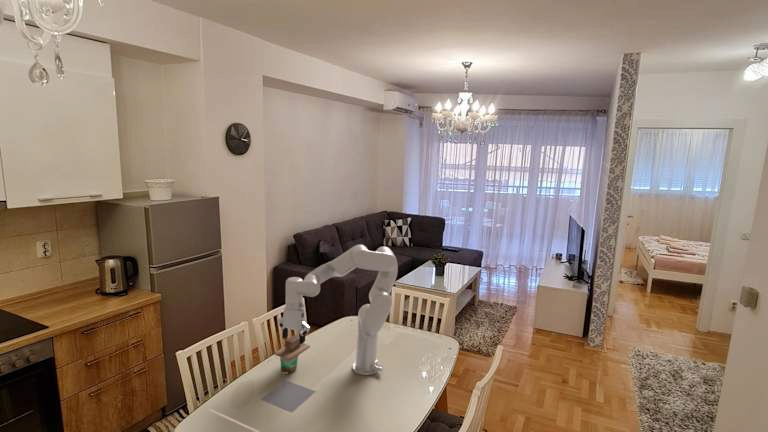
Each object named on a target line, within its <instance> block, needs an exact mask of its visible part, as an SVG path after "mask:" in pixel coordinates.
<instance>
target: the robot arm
mask: <svg viewBox="0 0 768 432" xmlns="http://www.w3.org/2000/svg"><path fill="white" fill-rule="evenodd" d="M356 268H358V269H361V270H362V269H363V270H368V271H376V272H378V273H377V276H376V278H375V281H374V283H373V284H372V286H371V289H370V291H369V293H368V299H369V302H370V303H366V304H363V305H362V306H361V307H360V308H359V310H358V313H357V314H358V315H357V338H356V354H355V355H356V356H355V361H354V362H353V363H352V370H353V372H354V373H356V374H357V375H361V376H372V375H375V374H376V373H378V371H379V372H383V371H384V368H383V364H381V363H380V364H379V360H378V359H377V351H378V339H379V332H380V331H381V329H382V328H383V326H384V324H385V322H386V320H387V317H388V315H389V314H390V311H391V309H392V306H393V299H392V296H391V292H392V289H393V287H394V285H395V282H396V280H397V277H398V271H399V270H398V269H399V266H398V261H397V257H396V256H395V254H394V252H393V251H392V250H391V248H390V247H387V246H386V245H385V246H380V247H378V248H377V249H376V250H375V251H373V250H369V249H368V247H367V246H366V245H364V244H361V243H360V244H356V245H354V246H352V247H350V248H349V249H348V250H347V251H345V252H343V253H342V254H340V255H339V256H338V257H336V258H334V259H332V260H331V261H328V262H326V263H323V264H320V266H318V267H316V268H314V269H313V270H312V271H310V272H308V273H307V274H306V275H305V277H304V278H303V279H302V278H301V277H298V276H292V277H291V276H290V277H288V278H287V279H286V280H285V306H284V308H283V314H282V317H280V318H278V319H277V322H278V324H279V327H280V330H281V331H282V333H281V335H282V337H281V338H282V339H283V340H284V339H287V337H288V336H289V330H293V331H296V332H298V333H299V335H300V336H299V337H300V344H302V343H304V344H305V342H306V335H307V334H308V333H309V331H310V330H311V326H309V324H307V319H306V310H305V304H303V303H304V301H303V298H304V297H303V296H305V297H311V298H314V297H316V296H317V295H319V294H320V291H321V284H322V283H323V284H324V282H326V281H328V280H329V279H331V278H335V277H338V278H339V277H341V278H342V277H344V276H346V275H347V274H349V273H351V272H352V271H353V270H354V269H356ZM288 338H289V337H288Z"/></svg>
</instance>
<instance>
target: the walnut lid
mask: <svg viewBox="0 0 768 432" xmlns="http://www.w3.org/2000/svg"><path fill="white" fill-rule="evenodd" d="M310 348H311V345H310V344H307V343H305V342H304V343H302V344H300V336H297V335H295V334H293V335H292V336H290V337H288V338H285V341H284V346H283V347H282V348H280V349H278V350H277V351H275V352H274V356H277V357H279V358H280V357H282V358H285V359H288V360H290V361H291V360H292V359H294V358H295V357H296V356H298V355H299V356H300V355H302V353H304V352H306V351H307V350H308V349H310ZM299 356H298V357H299Z"/></svg>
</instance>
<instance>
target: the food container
mask: <svg viewBox="0 0 768 432" xmlns="http://www.w3.org/2000/svg"><path fill="white" fill-rule="evenodd" d="M299 356H300V354H299V355H298V356H296V357H295V358H294V359H292V360H291V361H290V360H288V359H285V358H282V357H279V361H280V374H281V375H290V374H293V373H294V372H296V371H297V367H298V360H299V359H298V358H299Z"/></svg>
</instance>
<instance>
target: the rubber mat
mask: <svg viewBox="0 0 768 432" xmlns="http://www.w3.org/2000/svg"><path fill="white" fill-rule="evenodd" d="M315 393H317V392H316V390H313V389H311V388H309V387H308V388H307V387H305V386H303V385H301V384H299V383H295V382H292V381H290V380H287V379H286V380H284V381H282V383H280V384H279V385H277V386H276V387H275V388H273V389H272V390H271V391H269V392H268V393H267V394H265V395H264V396H263V397H261V398H260V400H261V401H264V402H266V403H267V404H268V403H269V404H270V405H272V406H275V407H278V408H280V409H283V410H286V411H287V412H289V413H293V412H294V411H296V410H297V409H298V408H299V407H300V406H301V405H302V404H303V403H305V402H306V401H308V399H309V398H310V397H312V395H314V394H315Z"/></svg>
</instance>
